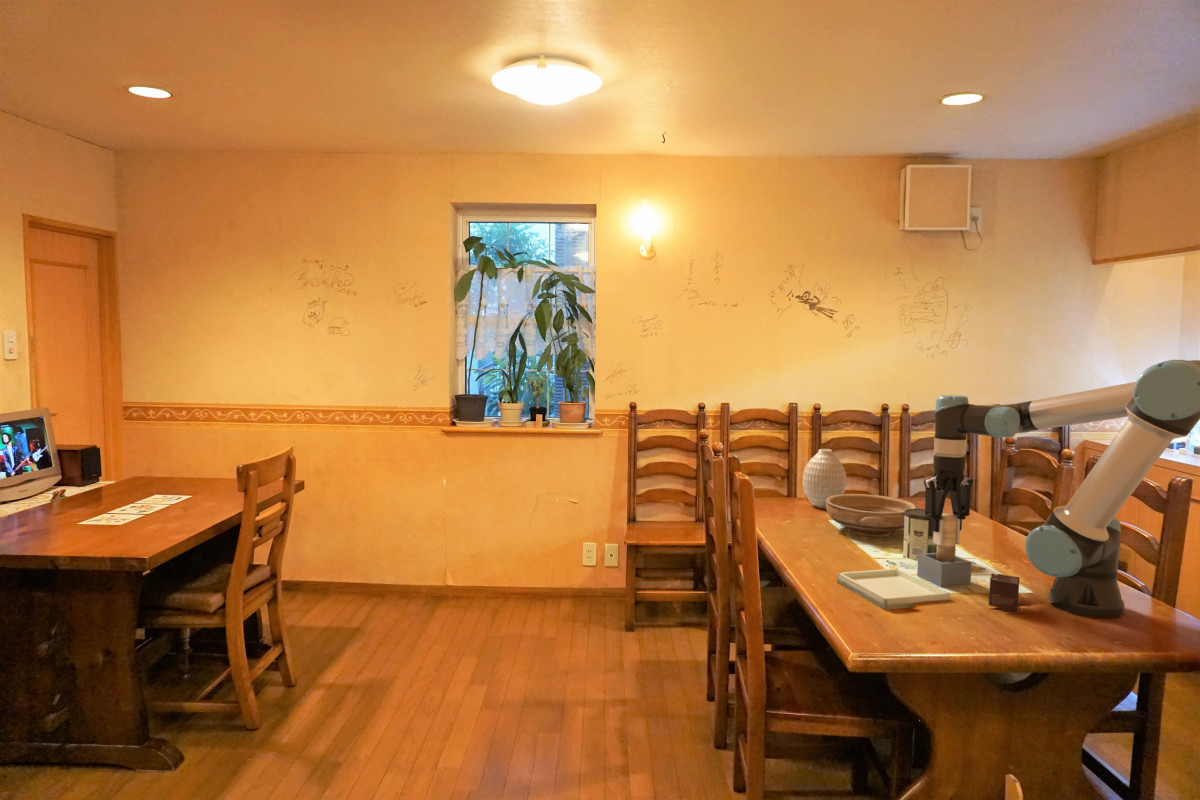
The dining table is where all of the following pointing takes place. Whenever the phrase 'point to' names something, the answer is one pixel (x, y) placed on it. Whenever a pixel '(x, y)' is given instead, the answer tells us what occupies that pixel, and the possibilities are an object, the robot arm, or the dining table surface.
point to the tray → (891, 588)
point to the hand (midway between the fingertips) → (946, 543)
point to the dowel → (947, 539)
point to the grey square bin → (944, 570)
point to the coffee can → (917, 534)
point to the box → (1004, 592)
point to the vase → (823, 478)
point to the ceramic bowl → (868, 513)
